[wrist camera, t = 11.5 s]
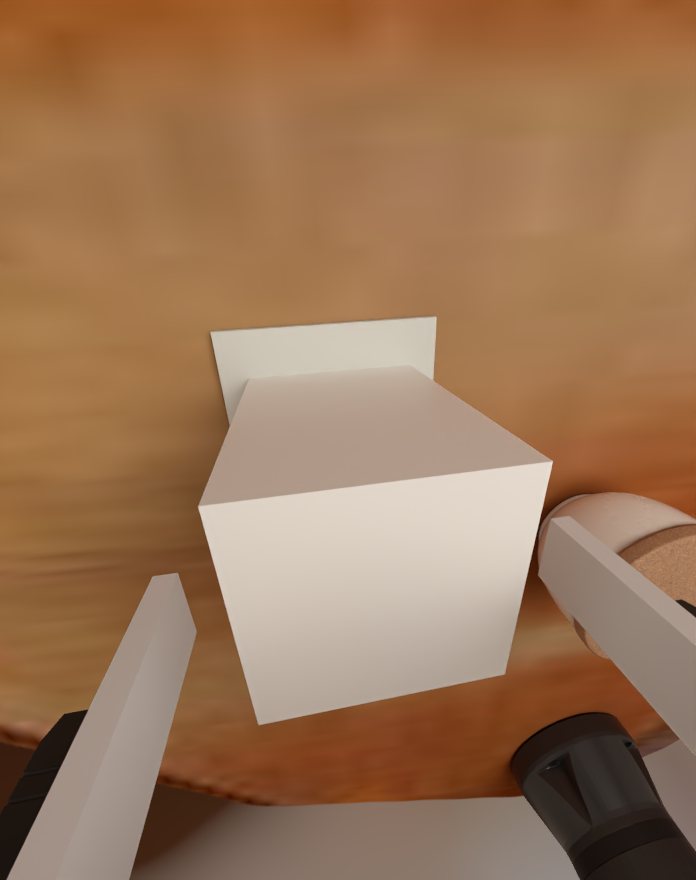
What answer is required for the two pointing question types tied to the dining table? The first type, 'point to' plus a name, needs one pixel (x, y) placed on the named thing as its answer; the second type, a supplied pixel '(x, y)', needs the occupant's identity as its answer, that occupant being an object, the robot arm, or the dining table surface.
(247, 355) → the mat
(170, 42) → the dining table surface
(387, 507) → the white block
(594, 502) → the lidded jar
